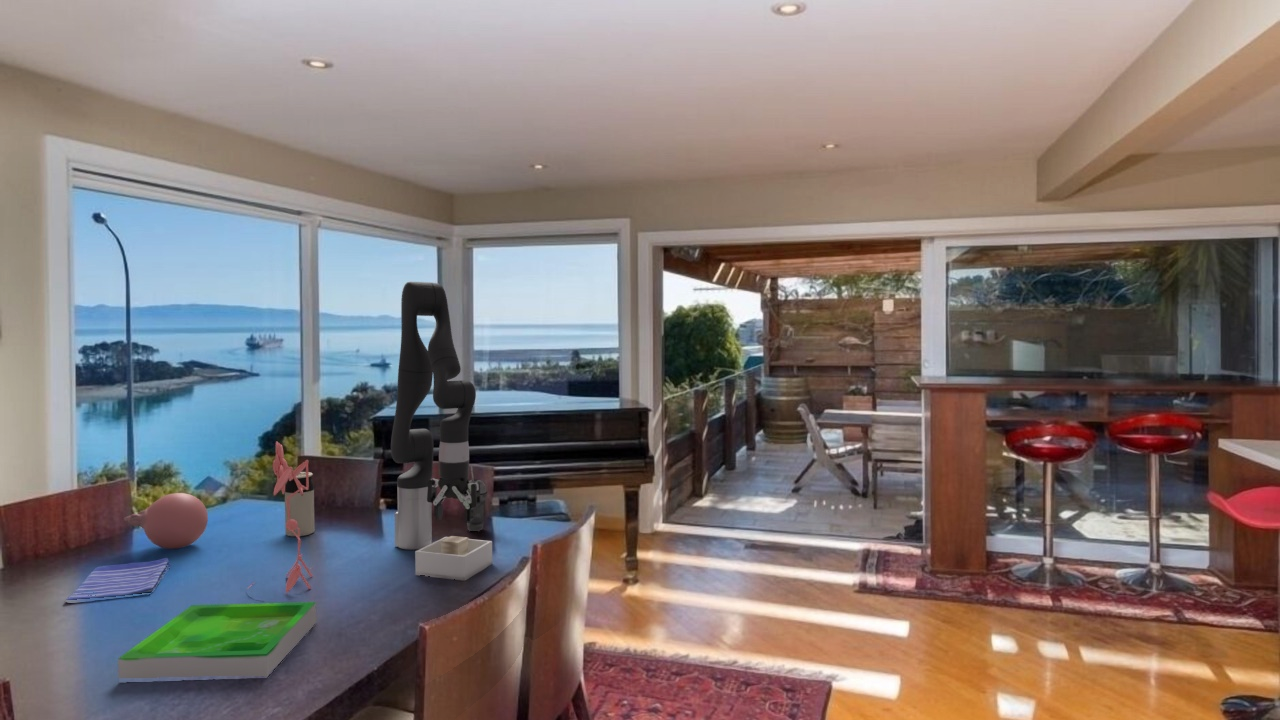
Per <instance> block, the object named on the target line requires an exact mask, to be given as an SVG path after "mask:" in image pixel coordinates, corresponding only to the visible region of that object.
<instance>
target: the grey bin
mask: <svg viewBox="0 0 1280 720" xmlns="http://www.w3.org/2000/svg"><path fill="white" fill-rule="evenodd" d="M448 537H449V536H444V537H442V538H440V539H438V540H435V541H434V542H432V544H429V545H427V546H425V547H423V548H421V549H416V550H415V552H414V556H415V558H414V559H415V560H414V561H415V562H414V563H415V565H414V566H415V576H420V575H425V576H424V577H428V576H430V577H429V578H437V579H439V578H440V579H445V580H446V579H447V580H454V579H455V580H456V581H463V582H464V581H467V580H469V579H470V578H472V577H473V576H475V575H477V574H478V573H480V572H482V571H483V570H485V569H486V568H487V567H490V566H491V565H493V540H483V539H472V538H468V553H467V554H466V555H464V556H463V555H453V554H444V553H441V541H442V540H444V539H446V538H448Z"/></svg>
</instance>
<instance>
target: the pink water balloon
mask: <svg viewBox="0 0 1280 720" xmlns="http://www.w3.org/2000/svg"><path fill="white" fill-rule="evenodd" d="M123 521H124V522H128V523H129V524H130V525H132V526H133V527H140V528H142V529H143V530H144V533H145V536H146V537H147V539H148V540H149V541H150V542H151V543H152V544H154V545H155V546H157V547H160V548H163V549H169V550H174V549H176V550H177V549H182V548H185V547H188V546H190V545H192V544H194V543H195V542H196V541H197V540H198V539H199V538H201V536H202V535H203V534H204V532H205V530H206V528H207V525H208V522H209V516H208V510H207V508H206V506H205V504H204V503H203V502H202V500H201V499H199V498H198V497H196V496H194V495H192V494H189V493H184V492H175V493H169V494H165V495H164V496H160V497H159V498H158V499H157V500H155V501H154V502H152V504H151V505H150V506H148V507H146V508H145V509H142V510H141V511H139V512H137V513H132V514H131V515H128V516H125V517H123Z"/></svg>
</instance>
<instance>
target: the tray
mask: <svg viewBox="0 0 1280 720" xmlns="http://www.w3.org/2000/svg"><path fill="white" fill-rule="evenodd" d="M315 623H316V624H317V601H308V602H305V601H304V602H303V601H302V602H301V601H300V602H299V601H298V602H268V603H266V602H264V603H263V602H262V603H261V602H260V603H225V604H193V605H190V606H189V607H187V608H186V609H185V610H183V611H182V612H181V613H179V614H177V615H176V616H175V617H174V618H173V619H171V620H170V621H168V622H167V623H166V624H164V625H162V626H161V627H160V628H159V629H157V630H155V631H154V632H153V633H151V634H150V635H149V636H147V637H146V638H144V639H143V640H142V641H140V642H139V643H137V644H136V645H134V647H133V646H132V648H130V649H129V650H128V651H127V652H125V653H123V655H121V656H120V657H118V659H117V662H118V663H117V666H118V670H117V671H118V679H119V678H157V677H159V678H160V677H192V676H193V677H201V676H268V675H269V674H270V672H271V671H272V670H273V669H274V668H275V667H276V666H277V665H278V664H279V663H280V662H281V661H282V659H283V658H284V657H285V656H286V655H287V654H288V653H289V652H290V650H291V649H292V648H293V647H294V646H295V645H296V644H297V643H298V642H299V641H300V639H301V638H302V637H303V636H304V635H305V634H306V633H307V632H308V631H309V630H310V629H311V628H312V627H313V628H314V626H315V625H316V624H315ZM314 624H315V625H314ZM313 625H314V626H313ZM313 628H312V629H313ZM312 629H311V630H312ZM311 630H310V631H311ZM310 631H309V632H310ZM309 632H308V633H309ZM308 633H307V634H308ZM307 634H306V635H307ZM306 635H305V636H306ZM300 642H301V641H300ZM300 642H299V643H300ZM299 643H298V644H299ZM298 644H297V645H298ZM290 653H291V652H290ZM290 653H289V654H290ZM282 662H283V661H282ZM282 662H281V663H282Z"/></svg>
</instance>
